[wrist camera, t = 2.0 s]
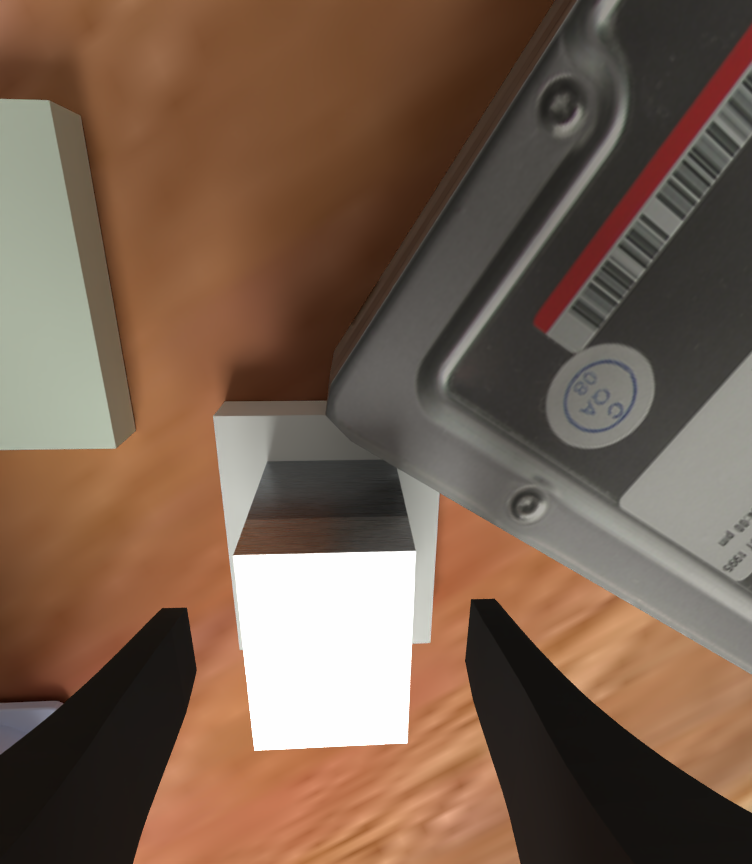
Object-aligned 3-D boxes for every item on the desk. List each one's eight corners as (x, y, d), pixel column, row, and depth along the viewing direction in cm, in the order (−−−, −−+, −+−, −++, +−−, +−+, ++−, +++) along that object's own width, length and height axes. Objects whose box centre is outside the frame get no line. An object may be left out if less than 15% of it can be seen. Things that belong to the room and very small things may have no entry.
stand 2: (424, 614, 20) (430, 642, 18) (247, 620, 19) (239, 650, 18) (436, 399, 17) (444, 413, 15) (224, 401, 16) (213, 416, 15)
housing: (390, 611, 18) (407, 743, 13) (278, 615, 17) (254, 750, 13) (394, 459, 16) (415, 550, 11) (267, 461, 15) (232, 555, 11)
